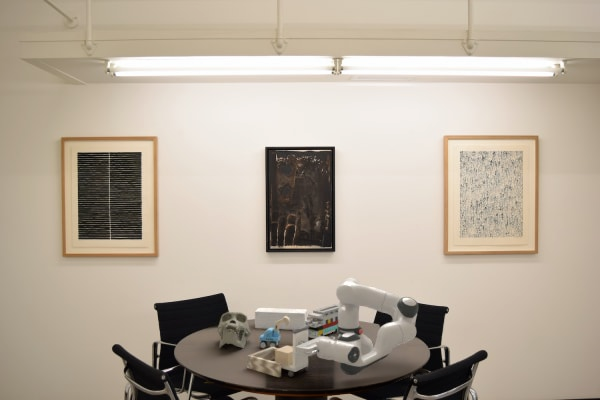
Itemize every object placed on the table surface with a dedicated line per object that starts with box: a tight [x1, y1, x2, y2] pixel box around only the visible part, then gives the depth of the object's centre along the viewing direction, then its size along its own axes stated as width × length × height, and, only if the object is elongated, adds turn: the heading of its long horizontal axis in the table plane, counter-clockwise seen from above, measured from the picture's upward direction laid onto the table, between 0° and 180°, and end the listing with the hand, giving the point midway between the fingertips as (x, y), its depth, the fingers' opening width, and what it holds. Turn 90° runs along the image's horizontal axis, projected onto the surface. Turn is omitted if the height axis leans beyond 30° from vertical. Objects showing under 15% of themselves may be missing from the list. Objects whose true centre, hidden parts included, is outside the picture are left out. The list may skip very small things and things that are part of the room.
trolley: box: [273, 326, 309, 378], centre depth 230 cm, size 14×12×22 cm
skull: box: [217, 311, 252, 349], centre depth 271 cm, size 18×21×28 cm
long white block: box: [254, 307, 308, 331], centre depth 309 cm, size 32×11×11 cm, turn 82°
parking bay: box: [246, 347, 282, 378], centre depth 236 cm, size 20×18×6 cm
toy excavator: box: [259, 316, 290, 349], centre depth 267 cm, size 9×17×17 cm, turn 78°
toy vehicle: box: [305, 303, 339, 339], centre depth 293 cm, size 8×30×15 cm, turn 141°
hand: (300, 343), depth 224 cm, fingers closed, pressing on trolley
